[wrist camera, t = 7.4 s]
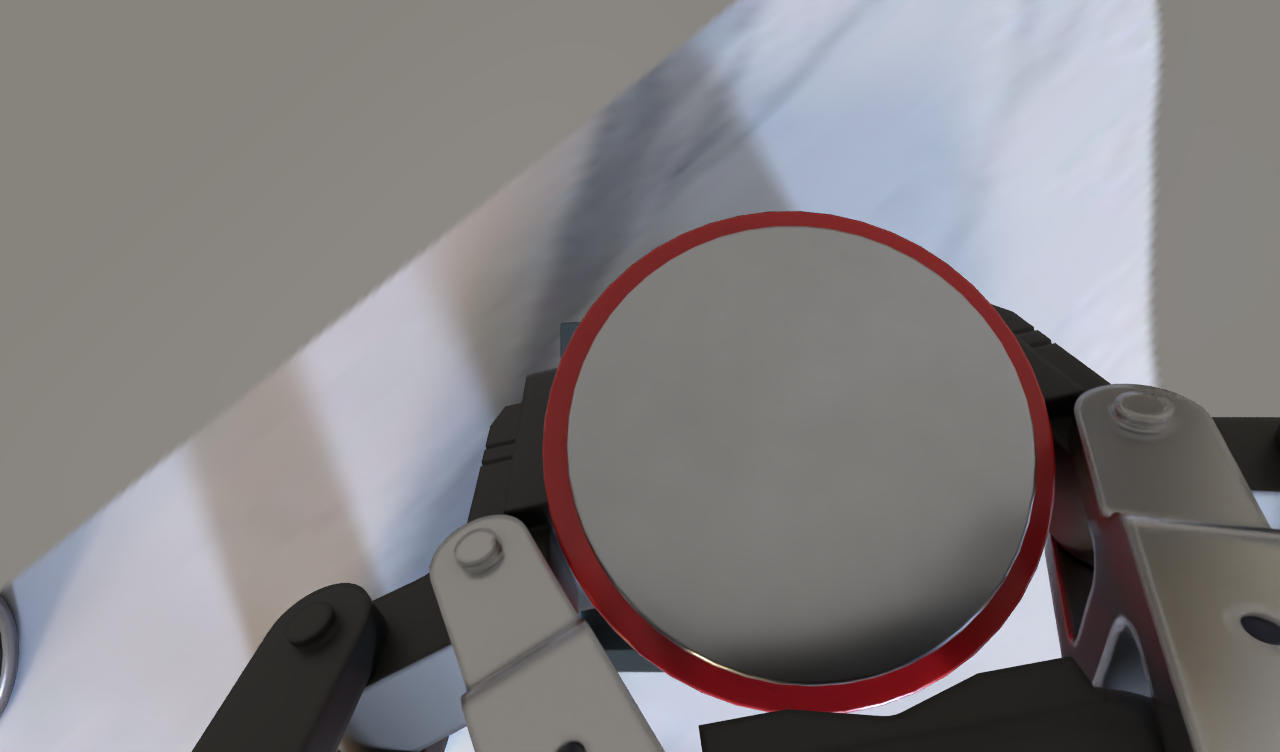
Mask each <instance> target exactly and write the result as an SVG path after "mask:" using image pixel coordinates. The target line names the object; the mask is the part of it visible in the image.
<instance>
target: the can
mask: <svg viewBox="0 0 1280 752" xmlns="http://www.w3.org/2000/svg"><path fill="white" fill-rule="evenodd" d="M542 455H543V473H544V485H545V490H546V496H547V501H548V506H549V512H550V516H551V519H552V522H553V525H554V528H555V531H556V535H557V538H558V541H559V544H560V546H561V549H562V551H563V553H564V555H565V557H566V559H567V561H568V564H569V566H570V568H571V570H572V572H573V574H574V576H575V578H576V579H577V581H578V582H579V584H580V586H581V587H582V589H583V590H584V592H585V593H586V595H587V597H588V598H589V600H590V601H591V603H592V604H593V606H594V607H595V608H596V609H597V610H598V612H599V613H600V614H601V615H602V616H603V618H604V619H605V620H606V621H607V622H608V624H609V625H610V626H611V627H612V628H613V630H614V631H615V632H616V633H617V634H618V635H619V636H620V637H622V638H623V639H624V640H625V641H626V642H627V643H628V644H629V645H630V646H631V647H632V648H633V649H635V650H636V651H637V652H638V653H639V654H640V655H641V656H643V657H644V658H645V659H647V660H648V661H650V662H651V663H652V664H654V665H655V666H657V667H658V668H659V669H661V670H662V671H664V672H665V673H667V674H668V675H669V676H671V677H673V678H675V679H677V680H679V681H681V682H682V683H684V684H686V685H688V686H690V687H692V688H694V689H696V690H698V691H700V692H701V693H704V694H707V695H710V696H712V697H715V698H718V699H720V700H723V701H726V702H729V703H731V704H734V705H737V706H742V707H747V708H751V709H756V710H760V711H765V712H774V711H779V710H785V709H795V710H808V711H821V712H834V713H849V712H854V711H859V710H864V709H868V708H873V707H878V706H882V705H884V704H887V703H890V702H893V701H895V700H898V699H901V698H904V697H906V696H909V695H912V694H914V693H916V692H918V691H920V690H922V689H924V688H925V687H927V686H929V685H931V684H933V683H935V682H936V681H938V680H940V679H942V678H944V677H946V676H947V675H948V674H950V673H951V672H952V671H954V670H955V669H956V668H958V667H959V666H960V665H962V664H963V663H964V662H966V661H967V660H968V659H970V658H971V657H972V656H974V655H975V654H976V653H977V652H978V651H979V650H980V649H981V648H982V647H983V646H984V645H985V644H986V643H987V642H988V641H989V640H990V638H991V637H992V636H993V635H994V634H995V633H996V632H997V631H998V630H999V629H1000V628H1001V627H1002V625H1003V624H1004V623H1005V621H1006V620H1007V618H1008V617H1009V616H1010V614H1011V613H1012V611H1013V610H1014V609H1015V607H1016V606H1017V604H1018V603H1019V602H1020V600H1021V599H1022V597H1023V595H1024V593H1025V591H1026V589H1027V587H1028V585H1029V583H1030V581H1031V579H1032V577H1033V575H1034V573H1035V571H1036V569H1037V567H1038V564H1039V561H1040V558H1041V555H1042V552H1043V549H1044V546H1045V543H1046V540H1047V537H1048V534H1049V528H1050V523H1051V517H1052V512H1053V506H1054V500H1055V473H1056V463H1055V454H1054V444H1053V434H1052V429H1051V424H1050V420H1049V416H1048V412H1047V408H1046V404H1045V400H1044V397H1043V394H1042V392H1041V389H1040V386H1039V384H1038V381H1037V379H1036V376H1035V374H1034V371H1033V368H1032V366H1031V364H1030V362H1029V361H1028V359H1027V357H1026V355H1025V353H1024V351H1023V350H1022V348H1021V346H1020V344H1019V342H1018V340H1017V339H1016V337H1015V335H1014V334H1013V333H1012V331H1011V330H1010V329H1009V327H1008V326H1007V324H1006V323H1005V322H1004V320H1003V319H1002V317H1001V316H1000V315H999V313H998V312H997V311H996V309H995V308H994V307H993V306H992V305H991V304H990V303H989V302H988V301H987V300H986V299H985V298H984V296H983V295H982V294H981V293H980V292H979V291H978V290H977V289H976V288H975V287H974V286H973V285H972V284H971V283H970V282H969V281H967V280H966V279H965V278H964V277H963V276H961V275H960V274H959V273H958V272H957V271H955V270H954V269H953V268H952V267H951V266H949V265H948V264H947V263H945V262H944V261H942V260H941V259H939V258H938V257H936V256H935V255H933V254H931V253H930V252H928V251H927V250H925V249H924V248H922V247H921V246H919V245H917V244H915V243H913V242H911V241H909V240H907V239H905V238H903V237H901V236H898V235H896V234H894V233H892V232H890V231H887V230H884V229H881V228H879V227H876V226H873V225H870V224H867V223H864V222H862V221H857V220H853V219H848V218H844V217H840V216H835V215H830V214H821V213H811V212H802V211H786V212H763V213H756V214H748V215H741V216H736V217H732V218H728V219H724V220H720V221H717V222H713V223H709V224H707V225H704V226H702V227H699V228H696V229H694V230H691V231H689V232H686V233H684V234H681V235H679V236H678V237H676V238H674V239H672V240H670V241H668V242H666V243H665V244H663V245H661V246H659V247H657V248H655V249H654V250H653V251H651V252H650V253H648V254H647V255H645V256H644V257H643V258H641V259H640V260H638V261H637V262H636V263H634V264H633V265H631V266H630V267H629V268H628V269H627V270H626V271H625V272H624V273H623V274H621V275H620V276H619V277H618V278H617V279H616V280H615V281H614V282H613V283H612V284H610V285H609V287H608V288H607V289H606V290H605V291H604V292H603V294H602V295H601V296H600V297H599V298H598V299H597V301H596V302H595V303H594V304H593V305H592V306H591V308H590V309H589V311H588V312H587V314H586V315H585V317H584V318H583V320H582V321H581V323H580V324H579V326H578V327H577V329H576V330H575V332H574V333H573V335H572V338H571V340H570V342H569V344H568V346H567V348H566V350H565V352H564V354H563V356H562V358H561V360H560V363H559V366H558V369H557V372H556V375H555V378H554V381H553V384H552V386H551V390H550V395H549V400H548V404H547V409H546V414H545V420H544V433H543V447H542Z"/></svg>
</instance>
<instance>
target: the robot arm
mask: <svg viewBox="0 0 1280 752" xmlns="http://www.w3.org/2000/svg"><path fill="white" fill-rule="evenodd" d="M991 305H992V304H991ZM992 306H993V307H994V308H995V309H996V311H997V312H998V313H999V315H1000V316H1001V317H1002V319H1003V320H1004V322H1005V323H1006V324H1007V326H1008V327H1009V329H1010V330H1011V331H1012V333H1013V334H1014V335H1015V337H1016V339H1017V340H1018V342H1019V344H1020V346H1021V348H1022V350H1023V351H1024V353H1025V355H1026V357H1027V359H1028V361H1029V362H1030V364H1031V366H1032V368H1033V371H1034V374H1035V376H1036V379H1037V381H1038V384H1039V386H1040V389H1041V392H1042V394H1043V397H1044V400H1045V404H1046V408H1047V412H1048V416H1049V420H1050V424H1051V429H1052V434H1053V444H1054V454H1055V463H1056V473H1055V500H1054V506H1053V512H1052V517H1051V523H1050V528H1049V534H1048V537H1047V540H1046V543H1045V556H1046V562H1047V568H1048V575H1049V581H1050V587H1051V593H1052V599H1053V605H1054V612H1055V618H1056V624H1057V630H1058V636H1059V642H1060V648H1061V655H1062V658H1058V659H1053V660H1048V661H1042V662H1037V663H1032V664H1026V665H1021V666H1015V667H1010V668H1005V669H999V670H994V671H989V672H983V673H978V674H976V675H974V676H972V677H970V678H968V679H966V680H964V681H962V682H960V683H958V684H956V685H954V686H952V687H950V688H948V689H946V690H944V691H943V692H941V693H939V694H937V695H935V696H933V697H931V698H929V699H927V700H925V701H923V702H921V703H919V704H917V705H915V706H913V707H911V708H909V709H907V710H905V711H903V712H901V713H899V714H896V715H892V716H872V715H859V714H846V713H834V712H821V711H808V710H795V709H785V710H779V711H774V712H769V713H763V714H758V715H753V716H747V717H742V718H736V719H731V720H726V721H720V722H715V723H710V724H704V725H699V732H700V739H701V746H702V752H1280V417H1279V418H1276V417H1265V418H1264V417H1259V418H1258V417H1243V418H1242V417H1211V416H1210V415H1209V413H1208V412H1207V411H1206V410H1205V409H1204V408H1202V407H1201V406H1200V405H1198V404H1197V403H1195V402H1194V401H1192V400H1189V399H1188V398H1186V397H1184V396H1181V395H1179V394H1177V393H1174V392H1171V391H1168V390H1164V389H1160V388H1156V387H1152V386H1145V385H1137V384H1112V385H1111V384H1110V383H1109V382H1107V381H1106V380H1105V379H1103V378H1102V377H1101V376H1099V375H1098V374H1097V373H1095V372H1094V371H1092V370H1091V369H1090V368H1088V367H1087V366H1086V365H1084V364H1083V363H1082V362H1080V361H1079V360H1078V359H1076V358H1075V357H1074V356H1072V355H1071V354H1069V353H1068V352H1067V351H1065V350H1064V349H1063V348H1061V347H1060V346H1059V345H1057V344H1056V343H1054V344H1052V343H1051V340H1050V339H1049V338H1048V337H1046V336H1045V335H1044V334H1042V333H1041V332H1040V331H1038V330H1036V331H1034V327H1033V326H1032V325H1030V324H1029V323H1027V322H1026V321H1025V320H1023V319H1022V318H1021V317H1019V316H1018V315H1017V314H1015V313H1014V312H1012V311H1009V310H1006V309H1003V308H1000V307H998V306H995V305H992ZM557 369H558V368H555V369H551V370H546V371H542V372H537V373H533V374H529V375H527V378H526V383H525V389H524V395H523V400H522V403H520V404H515V405H511V406H506V407H505V408H504V409H503V410H502V412H501V413H500V414H499V416H498V417H497V418H496V420H495V421H494V422H493V423H492V425H491V426H490V430H489V434H488V438H487V442H486V450H485V451H484V455H483V459H482V466H481V467H480V472H479V476H478V480H477V484H476V488H475V492H474V497H473V501H472V505H471V509H470V513H469V517H468V522H467V524H465V525H463V526H462V527H460V528H458V529H457V530H456V531H454V532H453V533H452V534H451V535H450V536H448V537H447V538H446V539H445V540H444V542H443V543H442V544H441V545H440V546H439V548H438V549H437V551H436V552H435V554H434V556H433V558H432V561H431V565H430V572H429V573H428V574H427V575H425V576H423V577H421V578H420V579H418V580H416V581H414V582H412V583H410V584H407V585H405V586H403V587H401V588H399V589H397V590H395V591H393V592H391V593H388V594H386V595H384V596H382V597H380V598H378V599H376V600H374V601H372V599H371V598H370V596H369V595H368V594H367V592H366V591H365V590H364V589H363V588H362V587H360V586H358V585H356V584H351V583H339V584H333V585H330V586H327V587H324V588H321V589H319V590H317V591H315V592H313V593H311V594H309V595H307V596H306V597H304V598H303V599H301V600H300V601H298V602H297V603H295V604H294V605H293V606H292V607H290V608H289V609H288V610H287V611H286V612H285V613H284V614H283V615H282V616H281V617H280V618H279V619H278V620H277V621H276V622H275V624H274V625H273V626H272V628H271V629H270V630H269V632H268V633H267V635H266V636H265V638H264V639H263V641H262V643H261V644H260V646H259V647H258V649H257V650H256V652H255V654H254V655H253V657H252V658H251V660H250V661H249V663H248V664H247V666H246V668H245V669H244V671H243V672H242V674H241V675H240V677H239V679H238V680H237V682H236V683H235V685H234V686H233V688H232V689H231V691H230V693H229V694H228V696H227V697H226V699H225V700H224V702H223V704H222V705H221V707H220V708H219V710H218V711H217V713H216V714H215V716H214V718H213V719H212V721H211V722H210V724H209V725H208V727H207V729H206V730H205V732H204V733H203V735H202V736H201V738H200V739H199V741H198V743H197V744H196V746H195V747H194V749H193V750H192V752H336V750H337V748H338V750H337V752H444V751H445V747H446V744H447V741H448V738H449V735H451V734H453V733H455V732H456V731H458V730H460V729H462V728H464V727H466V726H467V727H468V731H469V734H470V737H471V740H472V743H473V747H474V750H475V752H665V751H664V749H663V748H662V746H661V744H660V743H659V741H658V739H657V738H656V736H655V734H654V733H653V731H652V729H651V728H650V726H649V724H648V723H647V721H646V719H645V718H644V716H643V714H642V713H641V711H640V709H639V708H638V706H637V704H636V703H635V701H634V699H633V698H632V696H631V694H630V693H629V691H628V689H627V687H626V686H625V684H624V682H623V681H622V679H621V677H620V676H619V674H618V672H617V671H616V669H615V667H614V666H613V664H612V662H611V661H610V659H609V657H608V656H607V654H606V652H605V651H604V649H603V647H602V646H601V644H600V642H599V641H598V639H597V637H596V636H595V634H594V632H593V631H592V629H591V628H590V626H589V625H588V623H587V622H586V620H585V619H584V618H582V619H580V617H579V616H578V612H579V611H584V610H589V609H594V608H595V607H594V606H593V604H592V603H591V601H590V600H589V598H588V597H587V595H586V593H585V592H584V590H583V589H582V587H581V586H580V584H579V582H578V581H577V579H576V578H575V576H574V574H573V572H572V570H571V568H570V566H569V564H568V561H567V559H566V557H565V555H564V553H563V551H562V549H561V546H560V544H559V541H558V538H557V535H556V531H555V528H554V525H553V522H552V519H551V516H550V512H549V506H548V501H547V496H546V490H545V485H544V473H543V455H542V447H543V433H544V420H545V414H546V409H547V404H548V400H549V395H550V390H551V386H552V384H553V381H554V378H555V375H556V372H557ZM18 655H19V646H18V635H17V629H16V625H15V621H14V618H13V615H12V613H11V611H10V609H9V607H8V605H7V603H6V602H5V600H4V599H3V598H2V596H1V595H0V717H1V715H2V713H3V711H4V709H5V707H6V705H7V703H8V700H9V698H10V695H11V692H12V689H13V686H14V682H15V678H16V673H17V667H18Z"/></svg>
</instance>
